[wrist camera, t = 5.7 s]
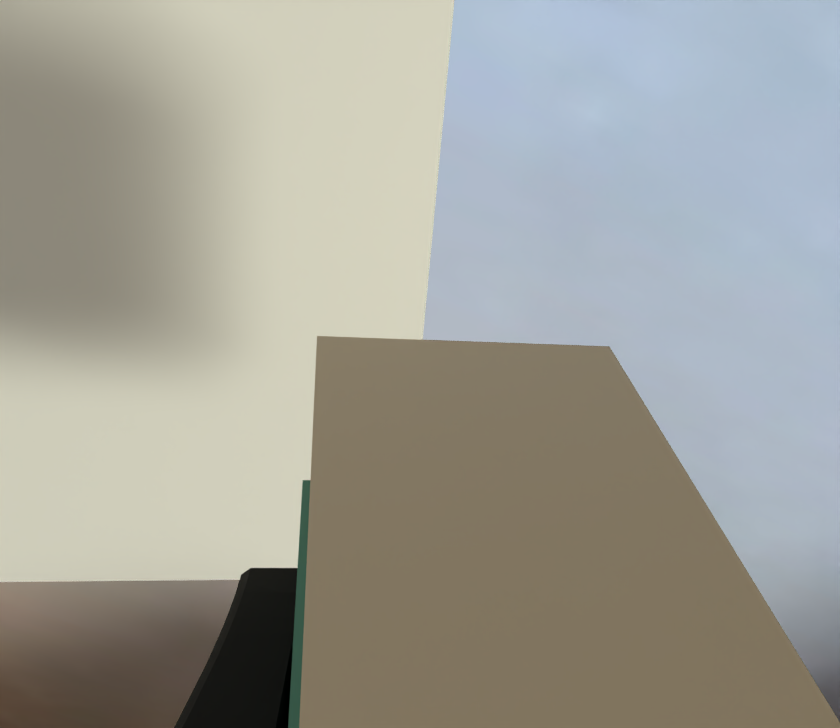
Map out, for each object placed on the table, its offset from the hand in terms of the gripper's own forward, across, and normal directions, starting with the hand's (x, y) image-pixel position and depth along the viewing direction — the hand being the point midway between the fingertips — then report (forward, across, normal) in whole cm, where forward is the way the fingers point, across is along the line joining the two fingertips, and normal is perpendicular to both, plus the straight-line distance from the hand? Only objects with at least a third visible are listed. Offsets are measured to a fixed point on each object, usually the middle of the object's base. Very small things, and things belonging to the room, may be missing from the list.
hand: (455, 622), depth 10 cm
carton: (+2, 0, 0) cm, 2 cm away
